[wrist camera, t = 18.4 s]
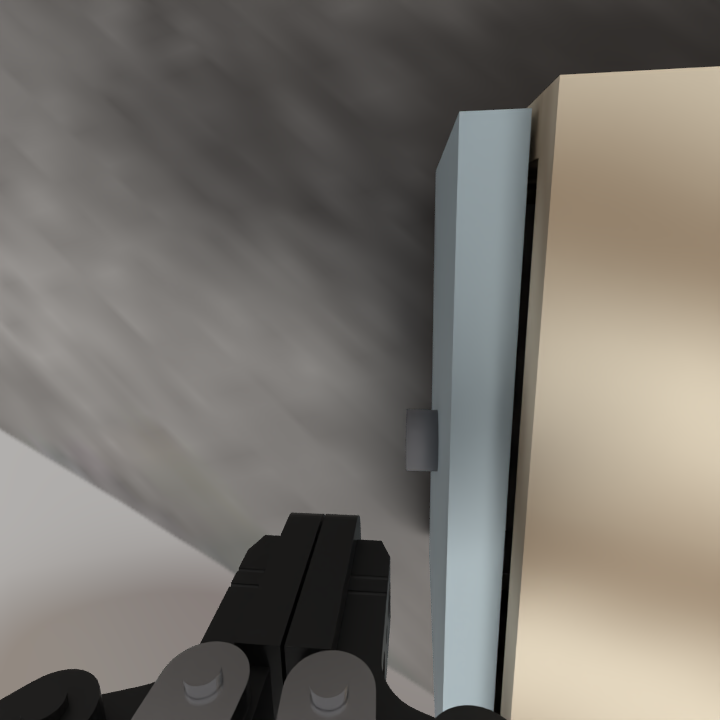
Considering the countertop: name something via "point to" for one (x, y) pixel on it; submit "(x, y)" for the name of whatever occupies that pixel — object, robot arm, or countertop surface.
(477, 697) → the drawer
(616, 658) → the cabinet
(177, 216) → the countertop surface
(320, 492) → the countertop surface
